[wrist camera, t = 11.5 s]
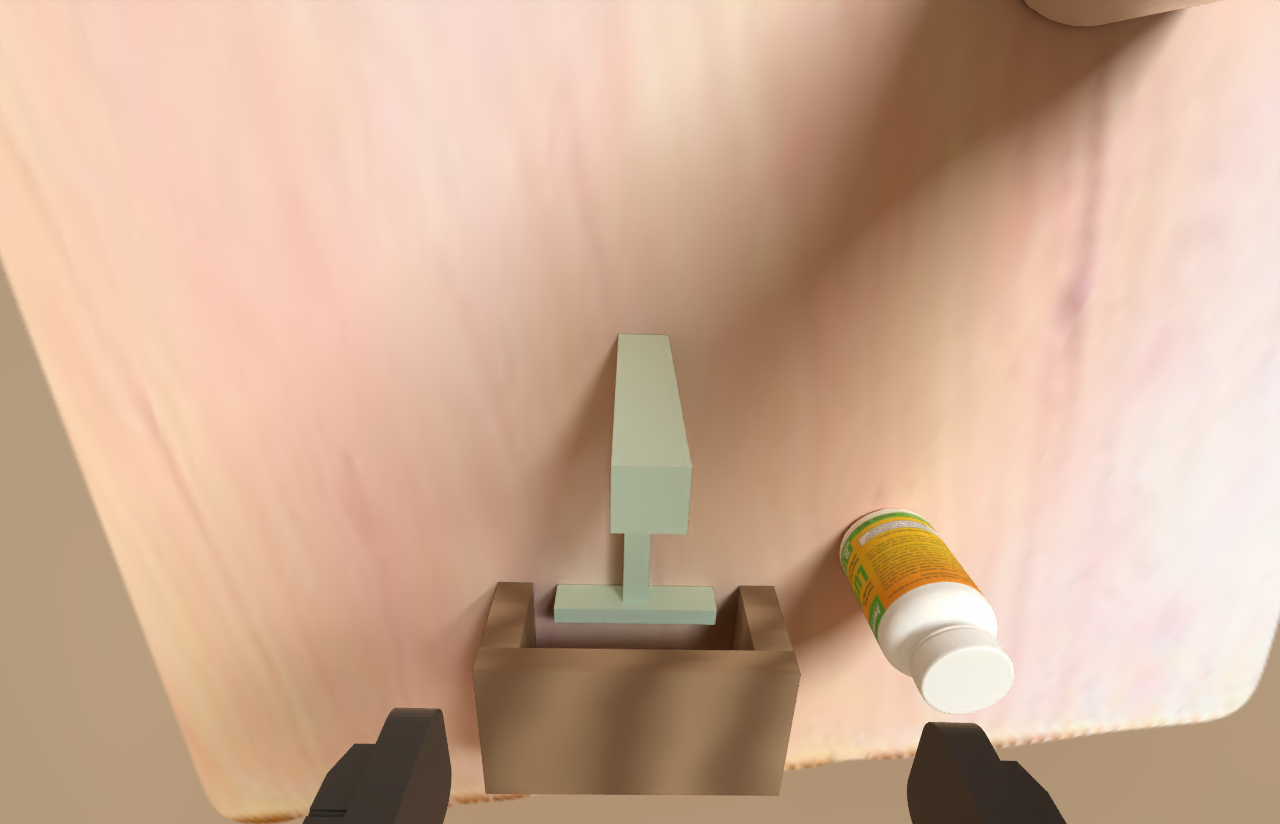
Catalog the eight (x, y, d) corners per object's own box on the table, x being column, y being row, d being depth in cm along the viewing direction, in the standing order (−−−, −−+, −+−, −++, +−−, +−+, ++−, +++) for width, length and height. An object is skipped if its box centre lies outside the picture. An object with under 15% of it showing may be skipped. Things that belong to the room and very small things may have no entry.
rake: (736, 336, 31) (802, 469, 19) (711, 600, 37) (748, 820, 26) (550, 332, 30) (498, 463, 19) (557, 598, 37) (524, 819, 25)
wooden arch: (773, 586, 37) (800, 674, 31) (757, 698, 41) (778, 795, 35) (498, 582, 37) (472, 670, 31) (507, 695, 40) (485, 793, 34)
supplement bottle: (824, 526, 35) (889, 660, 26) (918, 490, 34) (1018, 617, 26) (853, 595, 37) (922, 741, 29) (943, 563, 37) (1043, 703, 28)
